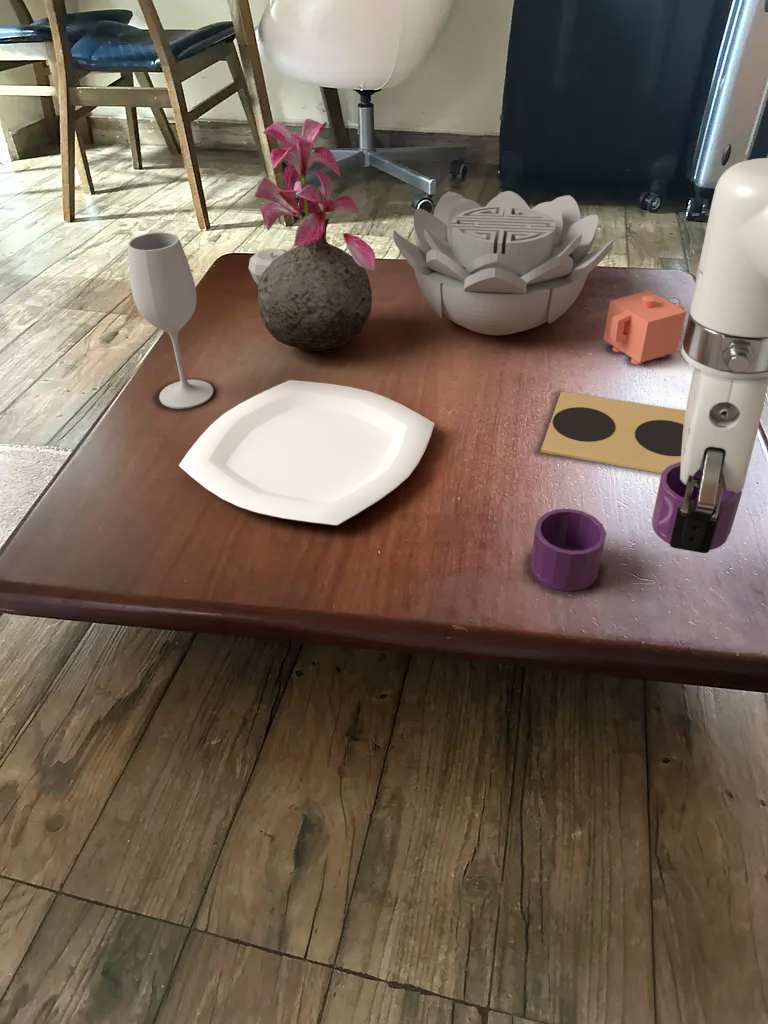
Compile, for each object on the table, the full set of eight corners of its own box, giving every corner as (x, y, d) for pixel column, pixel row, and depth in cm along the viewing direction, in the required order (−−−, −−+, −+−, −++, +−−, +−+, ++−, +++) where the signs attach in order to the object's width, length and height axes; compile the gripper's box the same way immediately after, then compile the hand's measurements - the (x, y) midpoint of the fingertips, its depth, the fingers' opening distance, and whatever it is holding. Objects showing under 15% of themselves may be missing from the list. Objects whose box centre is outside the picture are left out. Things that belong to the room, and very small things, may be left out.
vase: (276, 316, 123) (251, 108, 104) (386, 318, 122) (381, 107, 103) (252, 369, 111) (218, 143, 91) (375, 373, 109) (366, 143, 90)
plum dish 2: (729, 511, 72) (742, 467, 69) (728, 557, 67) (741, 512, 64) (654, 499, 74) (663, 456, 71) (648, 543, 69) (657, 498, 66)
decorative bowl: (381, 363, 111) (378, 260, 101) (413, 278, 134) (412, 187, 124) (599, 377, 106) (618, 271, 97) (594, 286, 129) (608, 193, 119)
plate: (461, 430, 97) (462, 417, 96) (344, 560, 80) (343, 546, 79) (287, 379, 108) (285, 366, 107) (150, 483, 91) (146, 469, 89)
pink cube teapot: (693, 352, 111) (707, 298, 106) (626, 373, 107) (637, 317, 102) (655, 330, 116) (667, 277, 111) (590, 349, 113) (599, 295, 107)
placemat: (703, 415, 99) (704, 412, 98) (698, 480, 89) (699, 476, 88) (560, 393, 104) (561, 390, 103) (540, 452, 93) (541, 449, 93)
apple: (241, 292, 131) (236, 254, 127) (275, 276, 135) (271, 239, 131) (275, 304, 127) (270, 265, 123) (308, 288, 131) (305, 250, 127)
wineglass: (221, 381, 108) (193, 230, 95) (206, 410, 103) (174, 254, 89) (168, 379, 109) (133, 229, 96) (150, 408, 103) (111, 253, 90)
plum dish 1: (602, 553, 80) (609, 516, 76) (593, 598, 75) (600, 560, 72) (537, 540, 81) (542, 503, 78) (524, 583, 77) (529, 545, 73)
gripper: (797, 402, 51) (735, 596, 63) (786, 297, 64) (736, 474, 75) (677, 388, 54) (638, 577, 65) (690, 289, 66) (655, 462, 77)
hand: (691, 520), depth 70 cm, fingers closed on plum dish 2, 6 cm apart
